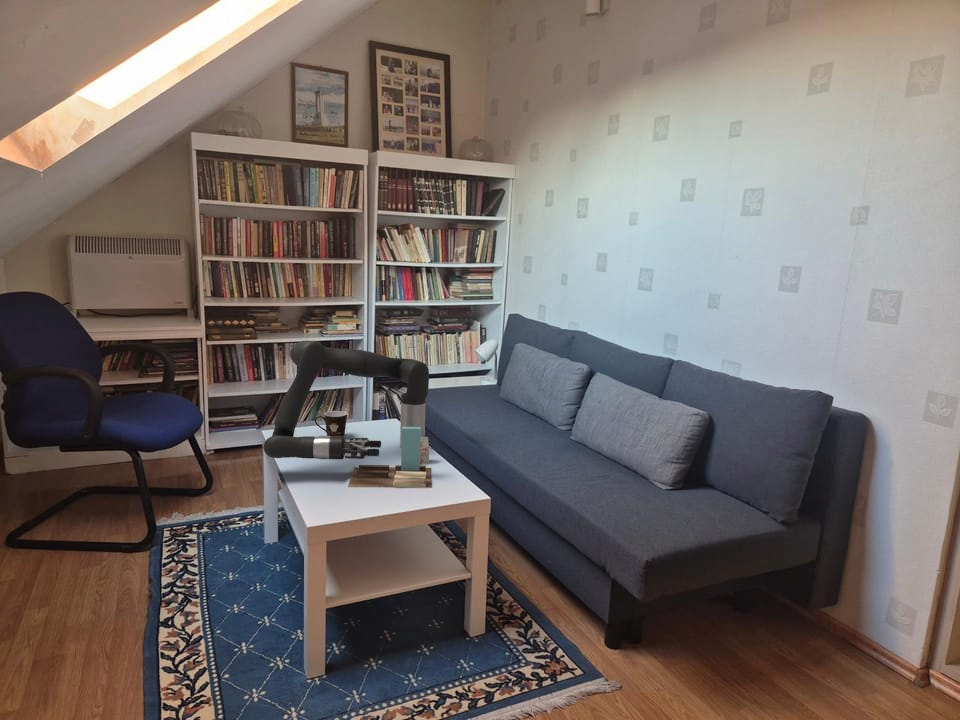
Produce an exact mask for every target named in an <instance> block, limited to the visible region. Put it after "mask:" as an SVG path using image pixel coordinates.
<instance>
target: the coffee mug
mask: <svg viewBox="0 0 960 720" xmlns="http://www.w3.org/2000/svg"><path fill="white" fill-rule="evenodd" d="M319 418H320V419H323V421H324V423H325V428H323V427H322V426H321V425H320V424H318V422H317V419H319ZM347 419H348V412H347V411H342V410H332V411H331V410H329V411H326V412H324V415H323V416H322V415H317V416H316V417H315V419H314V423H315V425H316V426H317V427H318V428H320V429H321V430H322V431H324V432H325V434H326V436H344V437H345V435H346V429H347V428H346V425H347Z"/></svg>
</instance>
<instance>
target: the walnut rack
mask: <svg viewBox="0 0 960 720" xmlns="http://www.w3.org/2000/svg"><path fill="white" fill-rule="evenodd" d="M396 471H401V464H395V466H390V464H389V465H388V464H385V465H383V464H358V466H353V469H352V471H351V475H350V478H349V481H348V485H347V488H393V489H395V488H401V489H402V488H407V489H409V488H415V489H416V488H417V489H419V488H421V489H422V488H423V489H425V488H426V489H429V488H431V489H432V488H433V479H432V475H433V474H432V472H433V471H432V467H427V466H426V465H420V471H407V472H426V487H393V484H394V475H395V474H396Z"/></svg>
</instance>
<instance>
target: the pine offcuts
mask: <svg viewBox="0 0 960 720" xmlns="http://www.w3.org/2000/svg"><path fill="white" fill-rule="evenodd" d="M394 487H426V472H407V471H396V474H395V475H394V484H393V487H392V488H394Z"/></svg>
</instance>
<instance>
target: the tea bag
mask: <svg viewBox="0 0 960 720" xmlns="http://www.w3.org/2000/svg"><path fill="white" fill-rule="evenodd" d="M429 463H430V445H429V437H428V436H425V437H420V465H424V464H425V465H427V464H429Z"/></svg>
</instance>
